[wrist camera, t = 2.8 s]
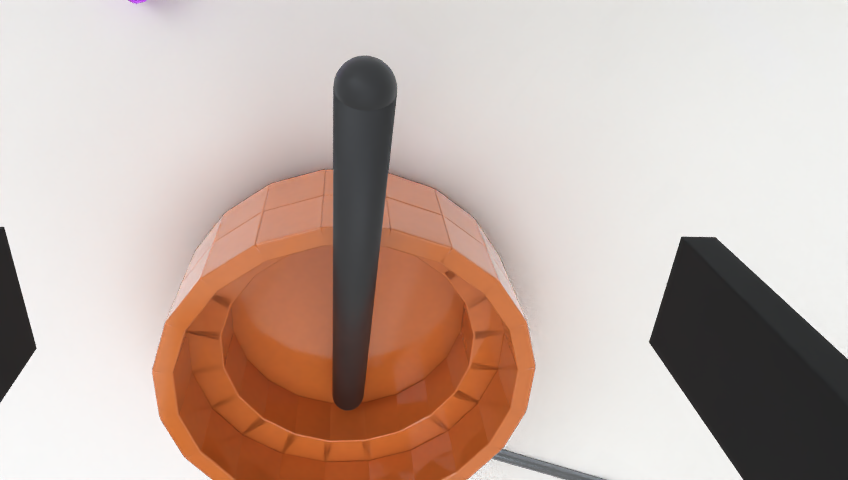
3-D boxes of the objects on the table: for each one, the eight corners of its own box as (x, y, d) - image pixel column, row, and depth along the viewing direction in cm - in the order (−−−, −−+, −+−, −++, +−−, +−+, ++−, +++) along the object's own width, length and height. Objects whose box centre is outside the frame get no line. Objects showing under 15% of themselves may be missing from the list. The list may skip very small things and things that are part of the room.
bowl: (169, 158, 27) (126, 223, 22) (525, 169, 29) (564, 231, 24) (201, 427, 34) (176, 523, 29) (483, 421, 36) (506, 510, 31)
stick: (337, -9, 23) (332, 63, 15) (380, -6, 24) (401, 67, 15) (332, 394, 33) (328, 578, 25) (362, 394, 34) (368, 576, 25)
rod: (456, 432, 37) (458, 442, 36) (700, 504, 43) (705, 513, 42) (450, 441, 37) (452, 450, 37) (694, 511, 43) (699, 520, 42)
